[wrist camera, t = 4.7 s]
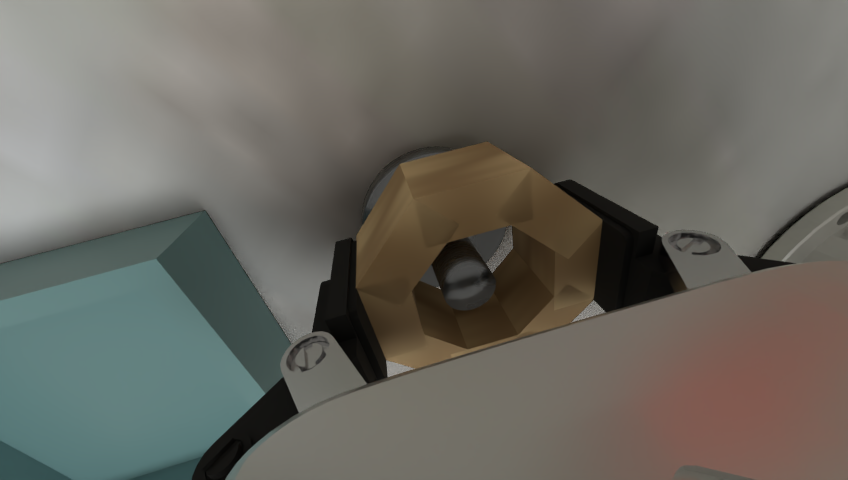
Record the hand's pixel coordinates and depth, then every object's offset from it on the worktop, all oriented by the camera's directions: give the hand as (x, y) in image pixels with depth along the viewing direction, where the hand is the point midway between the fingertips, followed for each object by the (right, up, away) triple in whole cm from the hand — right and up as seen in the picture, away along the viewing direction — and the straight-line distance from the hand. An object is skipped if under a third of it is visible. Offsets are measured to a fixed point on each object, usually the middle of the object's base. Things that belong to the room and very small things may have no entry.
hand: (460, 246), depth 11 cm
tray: (-15, -6, +3) cm, 16 cm away
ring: (0, 0, 0) cm, 0 cm away
